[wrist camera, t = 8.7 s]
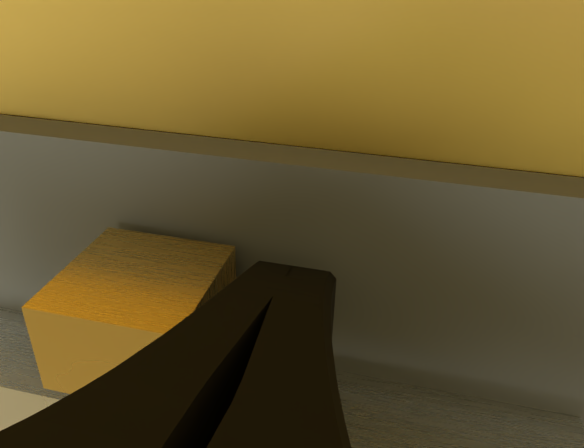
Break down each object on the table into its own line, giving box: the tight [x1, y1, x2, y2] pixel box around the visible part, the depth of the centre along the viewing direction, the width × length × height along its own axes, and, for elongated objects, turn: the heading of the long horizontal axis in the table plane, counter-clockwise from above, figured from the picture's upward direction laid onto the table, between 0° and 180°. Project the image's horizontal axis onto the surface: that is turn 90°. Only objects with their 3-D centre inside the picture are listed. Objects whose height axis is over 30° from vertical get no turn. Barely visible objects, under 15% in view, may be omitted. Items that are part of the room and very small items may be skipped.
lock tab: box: [21, 228, 236, 394], centre depth 9 cm, size 2×2×2 cm
